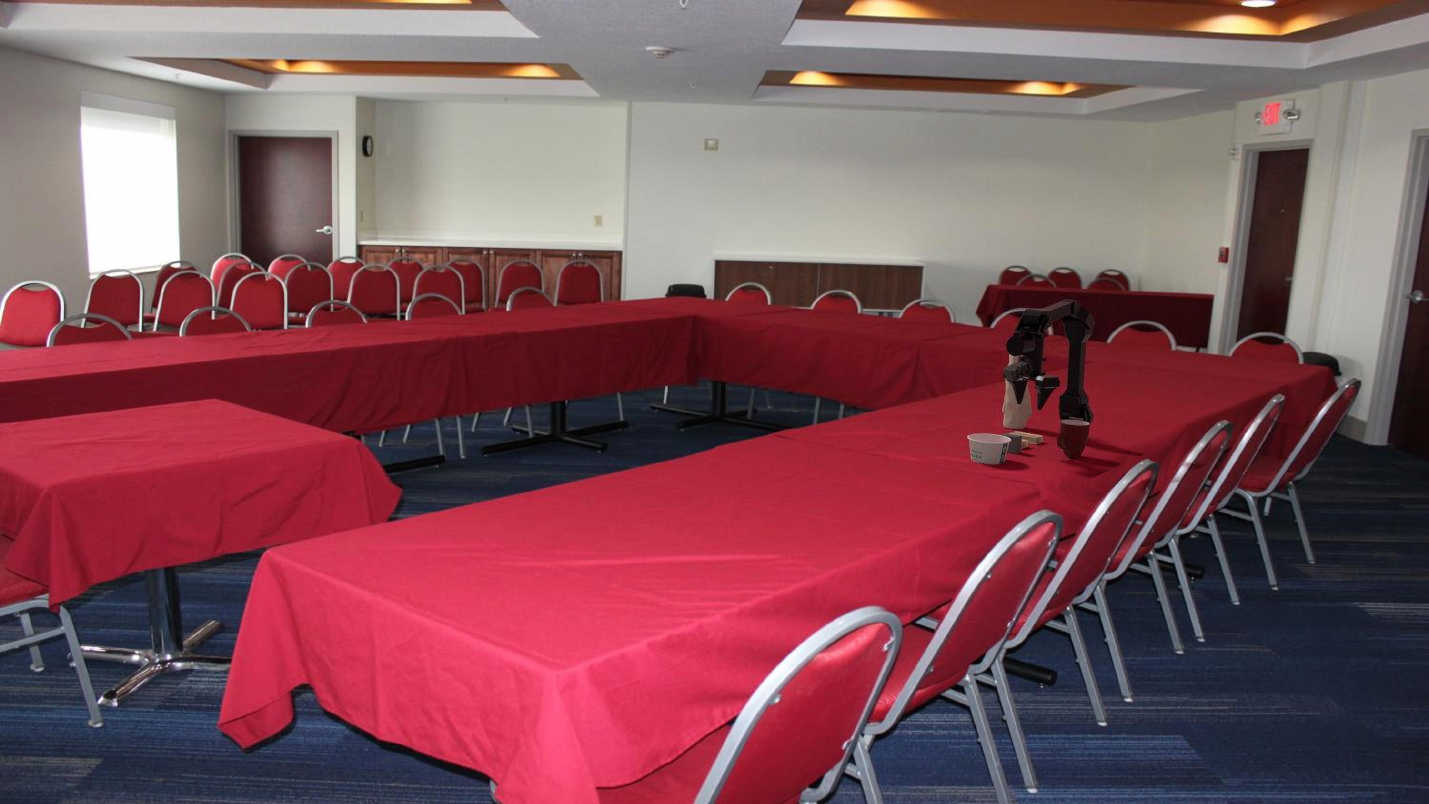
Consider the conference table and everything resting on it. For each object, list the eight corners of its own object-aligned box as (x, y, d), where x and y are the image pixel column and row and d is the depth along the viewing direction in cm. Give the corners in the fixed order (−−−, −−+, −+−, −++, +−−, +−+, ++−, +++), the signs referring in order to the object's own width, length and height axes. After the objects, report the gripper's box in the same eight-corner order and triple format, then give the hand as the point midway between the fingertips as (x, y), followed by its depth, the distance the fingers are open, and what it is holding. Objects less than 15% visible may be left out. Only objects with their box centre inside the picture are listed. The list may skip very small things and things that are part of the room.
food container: (957, 458, 302) (958, 436, 301) (984, 453, 309) (985, 431, 308) (991, 467, 293) (992, 444, 292) (1018, 462, 300) (1020, 439, 299)
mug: (1072, 462, 301) (1075, 427, 299) (1047, 456, 307) (1049, 422, 305) (1092, 457, 308) (1095, 423, 306) (1067, 451, 314) (1070, 418, 312)
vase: (1011, 423, 353) (1018, 333, 347) (1034, 428, 347) (1041, 336, 341) (996, 427, 347) (1003, 335, 342) (1019, 431, 341) (1026, 338, 335)
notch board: (1015, 437, 332) (1016, 431, 331) (1042, 442, 326) (1043, 435, 325) (993, 444, 322) (993, 437, 321) (1020, 449, 316) (1020, 442, 315)
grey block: (1005, 449, 315) (1006, 433, 314) (1020, 452, 312) (1022, 435, 311) (1000, 451, 313) (1001, 434, 312) (1015, 454, 310) (1017, 437, 309)
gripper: (990, 349, 310) (986, 402, 313) (1030, 358, 293) (1026, 414, 296) (1021, 348, 314) (1017, 400, 317) (1063, 357, 297) (1059, 412, 300)
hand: (1029, 407), depth 307 cm, fingers open, 9 cm apart
